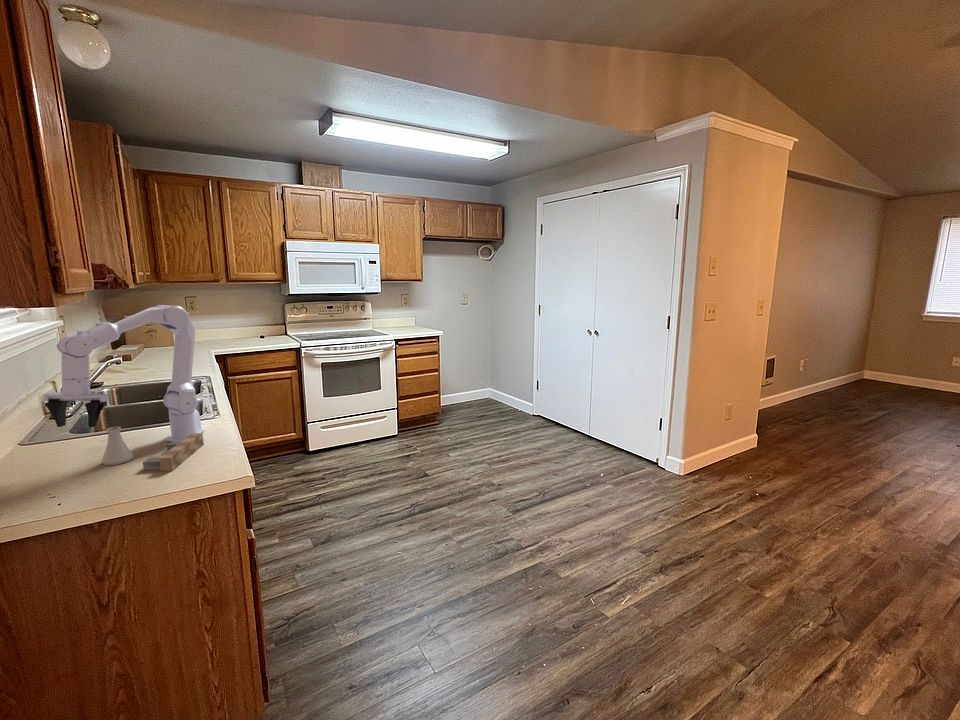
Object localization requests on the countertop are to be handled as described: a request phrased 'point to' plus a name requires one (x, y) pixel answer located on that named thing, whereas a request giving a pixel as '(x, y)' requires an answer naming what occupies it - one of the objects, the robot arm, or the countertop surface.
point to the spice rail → (175, 453)
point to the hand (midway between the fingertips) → (77, 426)
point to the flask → (116, 448)
